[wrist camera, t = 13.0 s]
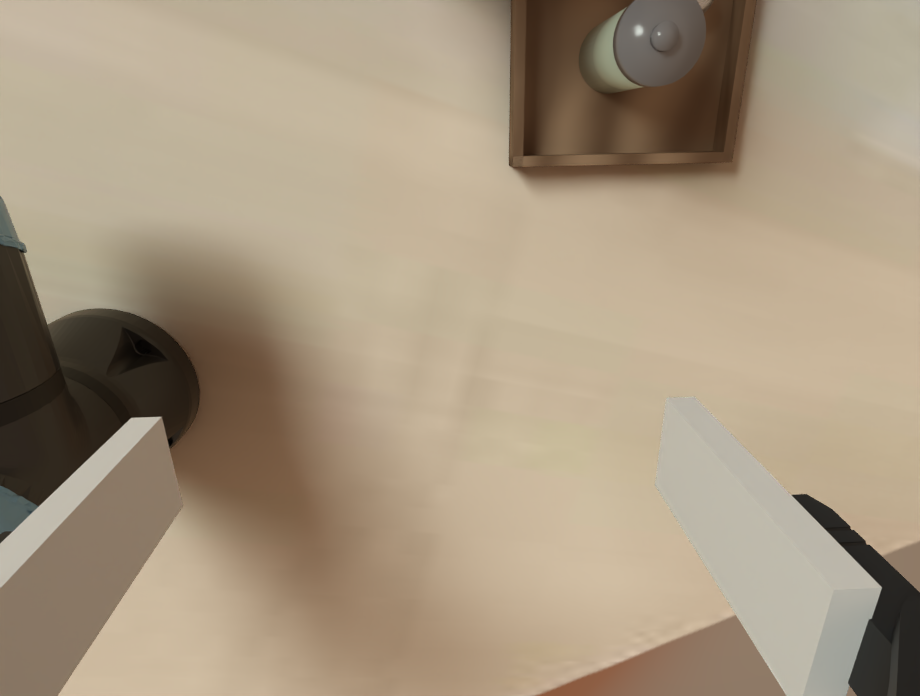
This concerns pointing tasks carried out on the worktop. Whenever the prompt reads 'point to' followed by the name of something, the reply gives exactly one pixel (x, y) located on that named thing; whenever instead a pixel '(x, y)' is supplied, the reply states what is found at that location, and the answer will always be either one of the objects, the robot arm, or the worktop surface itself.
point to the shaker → (643, 45)
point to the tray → (623, 113)
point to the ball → (705, 4)
